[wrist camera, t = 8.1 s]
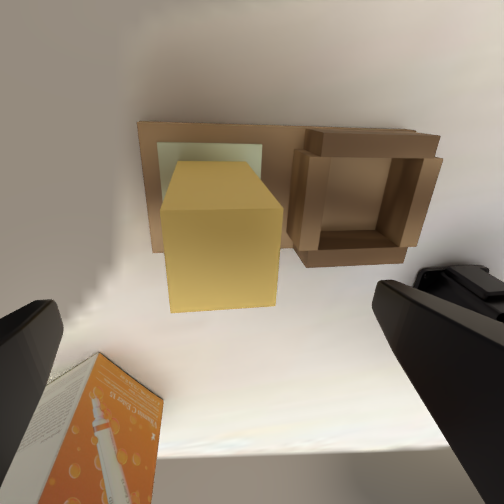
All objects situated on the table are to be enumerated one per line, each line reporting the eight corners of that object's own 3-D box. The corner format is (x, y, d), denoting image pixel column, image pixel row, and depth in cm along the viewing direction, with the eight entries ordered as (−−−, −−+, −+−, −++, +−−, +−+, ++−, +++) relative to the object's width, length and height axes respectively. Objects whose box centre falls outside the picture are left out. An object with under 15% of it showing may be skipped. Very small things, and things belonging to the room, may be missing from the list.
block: (244, 224, 20) (275, 306, 12) (182, 225, 19) (170, 313, 11) (246, 161, 18) (283, 208, 10) (177, 160, 17) (159, 210, 9)
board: (379, 239, 24) (389, 246, 22) (154, 246, 21) (152, 255, 20) (406, 129, 20) (419, 131, 19) (139, 121, 17) (135, 122, 16)
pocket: (386, 244, 23) (411, 262, 20) (284, 247, 21) (296, 268, 19) (415, 131, 19) (450, 136, 16) (295, 128, 18) (312, 132, 15)
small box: (165, 399, 28) (142, 610, 16) (111, 431, 28) (52, 655, 17) (98, 348, 24) (7, 576, 12) (39, 387, 25) (-100, 634, 13)
